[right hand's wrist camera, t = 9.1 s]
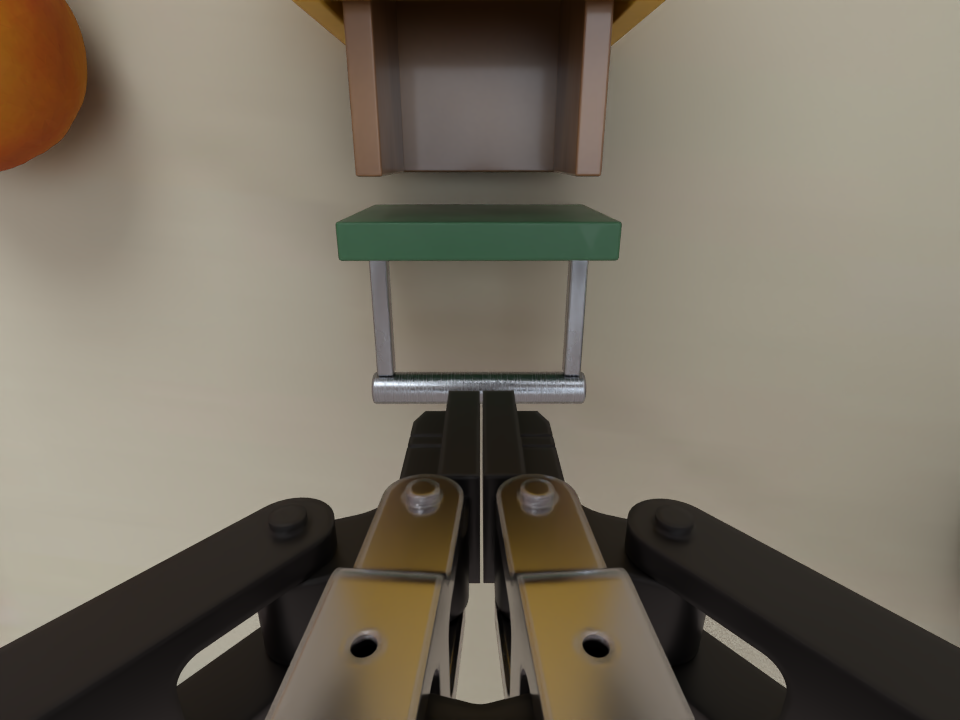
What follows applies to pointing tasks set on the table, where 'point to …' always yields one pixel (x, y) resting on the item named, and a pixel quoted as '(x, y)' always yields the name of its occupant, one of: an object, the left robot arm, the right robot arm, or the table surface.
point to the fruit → (38, 77)
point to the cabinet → (628, 11)
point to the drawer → (478, 156)
